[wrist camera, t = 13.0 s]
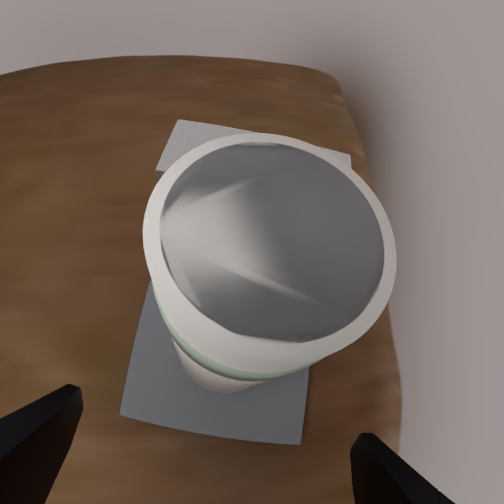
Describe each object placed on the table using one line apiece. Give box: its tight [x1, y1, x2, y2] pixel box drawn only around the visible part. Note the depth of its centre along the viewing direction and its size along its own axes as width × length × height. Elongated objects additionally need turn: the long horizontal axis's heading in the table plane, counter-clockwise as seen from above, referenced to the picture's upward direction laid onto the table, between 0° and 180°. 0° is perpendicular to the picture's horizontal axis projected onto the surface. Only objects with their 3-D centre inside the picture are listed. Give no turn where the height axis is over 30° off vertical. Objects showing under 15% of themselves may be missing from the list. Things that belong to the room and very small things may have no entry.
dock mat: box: [120, 278, 310, 445], centre depth 18 cm, size 10×10×1 cm
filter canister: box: [143, 133, 397, 393], centre depth 12 cm, size 5×5×13 cm
